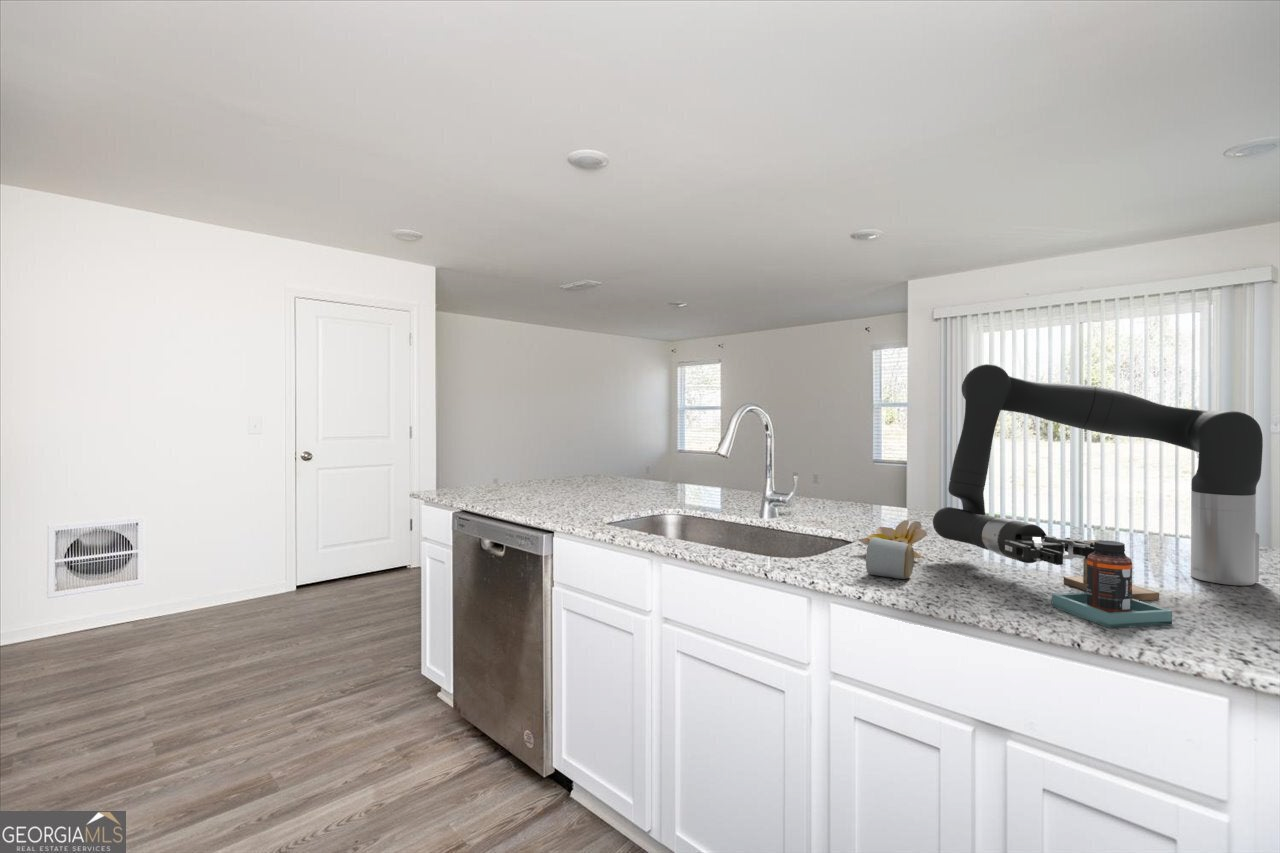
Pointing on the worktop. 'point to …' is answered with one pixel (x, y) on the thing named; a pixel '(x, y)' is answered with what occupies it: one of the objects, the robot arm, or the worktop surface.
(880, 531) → the decorative flower
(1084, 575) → the wooden stand
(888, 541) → the ceramic mug
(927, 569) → the worktop surface
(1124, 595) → the supplement bottle
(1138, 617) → the tray
